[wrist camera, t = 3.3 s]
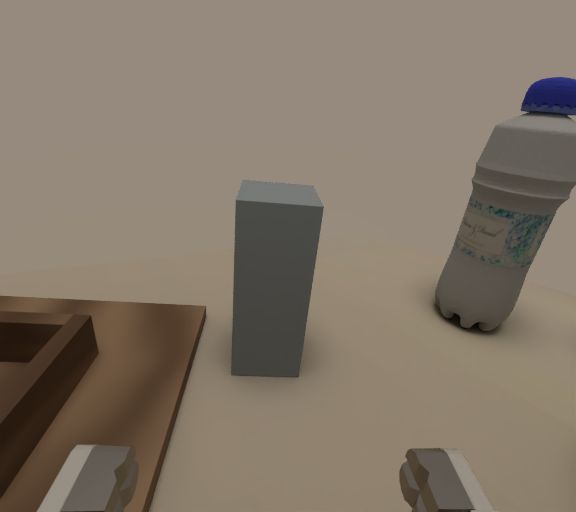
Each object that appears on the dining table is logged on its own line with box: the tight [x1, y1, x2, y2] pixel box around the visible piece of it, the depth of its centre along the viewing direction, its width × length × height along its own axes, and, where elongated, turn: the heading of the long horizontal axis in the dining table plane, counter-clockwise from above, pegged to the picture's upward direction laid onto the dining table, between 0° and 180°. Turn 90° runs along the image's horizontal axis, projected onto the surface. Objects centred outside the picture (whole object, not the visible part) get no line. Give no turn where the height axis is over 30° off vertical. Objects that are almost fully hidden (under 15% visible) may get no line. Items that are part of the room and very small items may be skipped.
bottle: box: [435, 77, 576, 331], centre depth 26 cm, size 7×7×20 cm
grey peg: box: [231, 180, 324, 377], centre depth 21 cm, size 4×4×12 cm
